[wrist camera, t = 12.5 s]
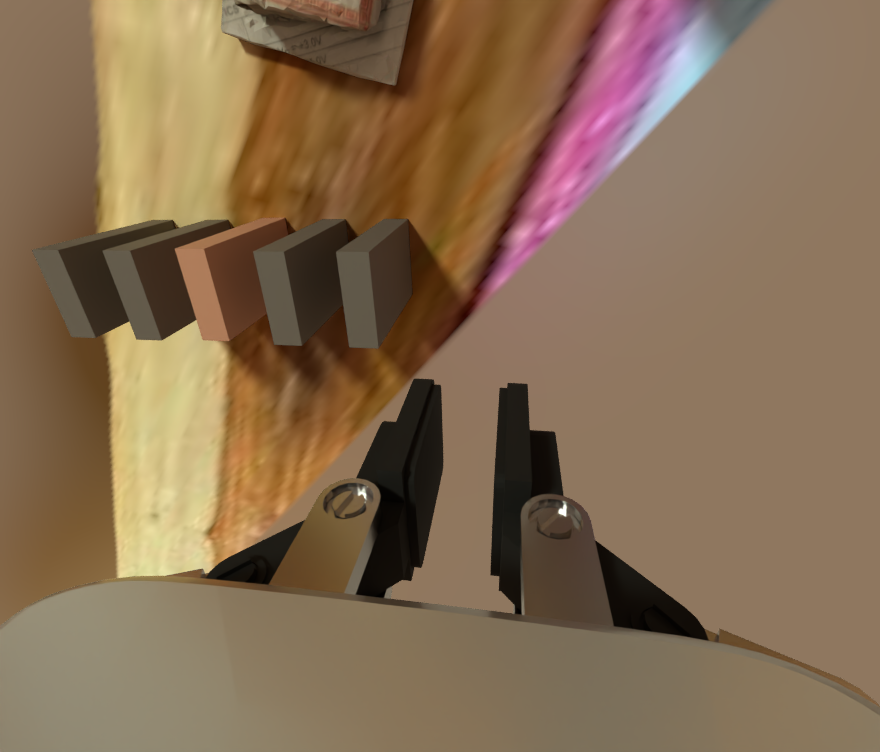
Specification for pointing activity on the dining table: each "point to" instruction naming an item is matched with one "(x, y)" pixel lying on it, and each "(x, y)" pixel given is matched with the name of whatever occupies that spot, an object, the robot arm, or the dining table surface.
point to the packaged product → (327, 32)
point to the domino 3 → (228, 277)
